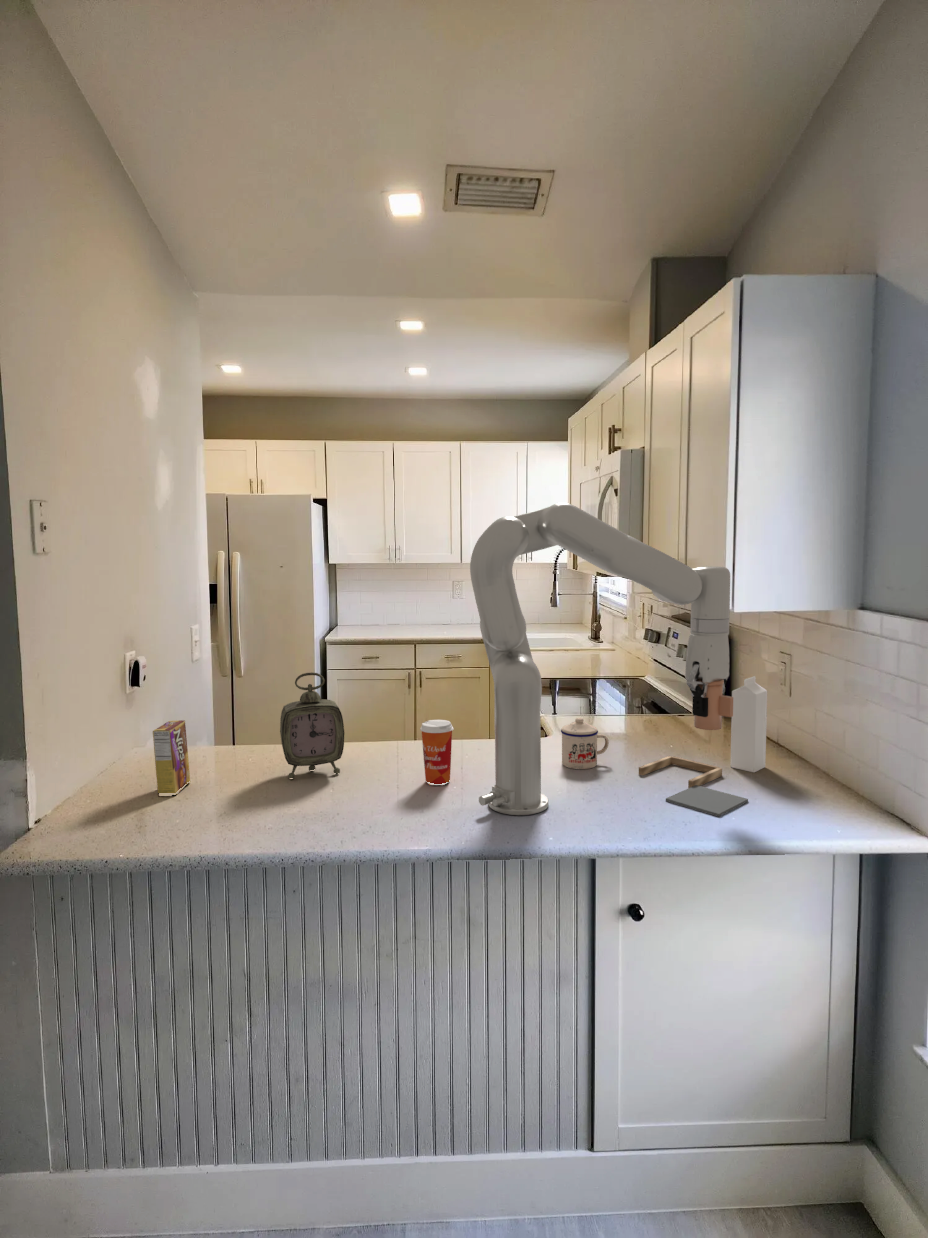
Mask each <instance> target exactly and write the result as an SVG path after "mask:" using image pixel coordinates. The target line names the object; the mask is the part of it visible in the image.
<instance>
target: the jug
mask: <svg viewBox="0 0 928 1238" xmlns="http://www.w3.org/2000/svg"><path fill="white" fill-rule="evenodd" d="M702 680H703V679H699V680H697V681H700V682H703V681H702ZM723 684H724V680H723V679H722V680H718V681H714V682H711V683H708V690H707V695H706V698H708V716H707V717H701V716H696V715H693V716H694V719H693V721H694V723H693V725H694V727H695V728H696V729H699V730H705V731H719V730H722V727H723V724H722V723H723V717H726V718H732V716H733V697H732V695H731V696H730V695H722V694H723ZM698 686H700V687H701V689H702V688H703V685H698Z"/></svg>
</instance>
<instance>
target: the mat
mask: <svg viewBox="0 0 928 1238" xmlns="http://www.w3.org/2000/svg"><path fill="white" fill-rule="evenodd" d="M665 802H666V803H667V802H668V803H671V804H674V805H677V806H681V807H685V808H688V809H691V810H695V811H697V812H698V811H699V812H701V813H705V814H709V815H711V816H715V817H721V816H723V815H725V814H727V813H729V812H731V811H732V810H735V809H737V808H738V807H741V806H742V805H745V804H747V803H749V798H746V797H742V796H738V795H735V794H731V793H728V792H724V791H721V790H716V789H712V788H709V787H705V786H702V785H701V786H698V785H695V786H693V787H690V788H688V787H687V788H686V789H684V790H682V791H679V792H677V793H674V794H672V795H670V796H668V797H666V798H665Z"/></svg>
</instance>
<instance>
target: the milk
mask: <svg viewBox="0 0 928 1238" xmlns="http://www.w3.org/2000/svg"><path fill="white" fill-rule="evenodd" d="M756 680H757V679H756V675H754V676H751V677H746V678H745V679H744V680H743V685H741V686H740V687H738V688H736V689H733V690H732V691H731V697H733V716H732V717H731V721H730V722H731V724H730V725H731V726H730V727H731V729H730V730H731V731H730V733H731V734H730V736H731V737H730V768H731V769H737V770H742V771H746V772H750V773H756V772H758V771H761V770H762V769H764V768H766V754H767V748H766V747H767V721H768V719H767V718H768V715H767V714H768V690H767V689H766V688H765V687H763V686H761V685H760V684H759V683H757V682H756Z"/></svg>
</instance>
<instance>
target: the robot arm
mask: <svg viewBox="0 0 928 1238" xmlns="http://www.w3.org/2000/svg"><path fill="white" fill-rule="evenodd" d="M555 546H559V547H560V548H562V549H564V550H566V551H568V552H570V553H571V554H573V555H575V556H577V557H579V558H580V559H582V560H584V561H586V562H588V563H590V564H592V565H593V566H596V567H597V568H598V569H601V570H603V571H604V572H607V573H609V574H611V575H615V576H618V577H621V578H625V579H628V580H630V581H632V582H635V583H637V584H639V585H641V586H643V587H644V588H647V589H649V590H650V591H651V592H652V594H653V595H654V597H655V598H657V599H658V600H660V601H662V602H666V603H671V604H675V605H679V606H683V605H685V606H686V605H689V604H690V634H689V637H688V641H687V646H686V647H687V648H686V658H685V670H684V671H685V673H684V677H685V678H684V679H685V680H686V685H687V687H689V690H690V691H691V694H690V695H691V697H692V706H691V707H692V711H691V712H692V715H693V716H694V715H696V716H701V717H707V716H708V698H706V695H707V690H708V683H711V682H714V681H718V680H722V679H723V680H724V684H723V694H722V695H724V694H725V692H726V687H725V686H726V685H727V681H728V679H729V677H730V644H729V635H730V608H731V607H730V605H731V571H730V569H728V568H727V567H725V566H698V567H695V568H694V567H693V568H692V567H691V566H688V565H687V564H685V563H683V562H681V561H680V560H678V559H676V558H674V557H672V556H671V555H669V554H667V553H666V552H663V551H661V550H659V549H657V548H655V547H652V546H651V545H649V544H647V543H644V542H642V541H641V540H639V539H637V538H635V537H633V536H631V535H629V534H627V533H625V532H623V531H621V530H620V529H618V528H616V527H613V526H612V525H610V524H608V523H606V522H605V521H603V520H601V519H600V518H597V517H595V516H594V515H592V514H590V513H588V512H586V511H585V510H583V509H582V508H579V507H578V506H575V505H573V504H571V503H568V502H557V503H554V504H552V505H550V506H547V507H544V508H541V509H537V510H534V511H529V512H527V513H523V514H518V515H514V516H509V515H508V516H503V517H500V518H497V519H496V520H494V521H493V522H492V523H491V524H490V525H489V526H488V527H487V528H486V529H485V530H484V531H483V532H482V534H481V535H480V536H479V537H478V539H477V541H476V543H475V545H474V547H473V549H472V552H471V557H470V561H469V562H470V563H469V572H470V573H469V574H470V580H471V585H472V590H473V595H474V599H475V603H476V607H477V612H478V614H479V630H480V633H481V637H482V641H483V645H484V648H485V652H486V655H487V656H486V657H487V660H488V665H489V667H490V671H491V675H492V679H493V680H492V681H493V689H494V691H493V692H494V710H493V711H494V715H493V716H494V751H495V752H494V758H495V759H494V760H495V761H494V763H495V765H494V767H495V771H494V772H495V785H492V786H491V791H490V792H489V793H486V794H484V795H480V796H479V797H478V803H479V804H480V806H487V805H488V806H489V808H490V809H492V810H493V811H495V812H497V813H501V814H502V815H503V814H504V815H510V816H526V815H527V816H531V815H535V814H539V813H541V812H543V811H545V810H546V809H547V808H548V807H549V798H548V796H546V795H545V794H544V793H542V766H541V765H542V760H541V759H542V756H541V755H542V753H541V750H542V749H541V744H542V741H541V739H542V738H541V712H542V711H541V709H542V706H541V705H542V694H543V691H542V690H543V684H542V675H541V672H540V670H539V667H538V665H537V664H536V663H535V662H534V659H533V656H532V653H531V651H532V650H531V648H530V644H529V640H528V636H527V623H526V619H525V616H524V614H523V612H522V609H521V605H520V601H519V597H518V595H517V590H516V584H515V580H514V575H513V566H514V563H515V561H516V559H517V557H519V556H521V555H525V554H526V555H527V554H529V553H535V552H539V551H542V550H545V549H550V548H552V547H555ZM699 679H703V680H702V681H703V682H700V681H697V680H699ZM698 685H703V688H702V689H701V687H700V686H698ZM724 696H725V695H724Z"/></svg>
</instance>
